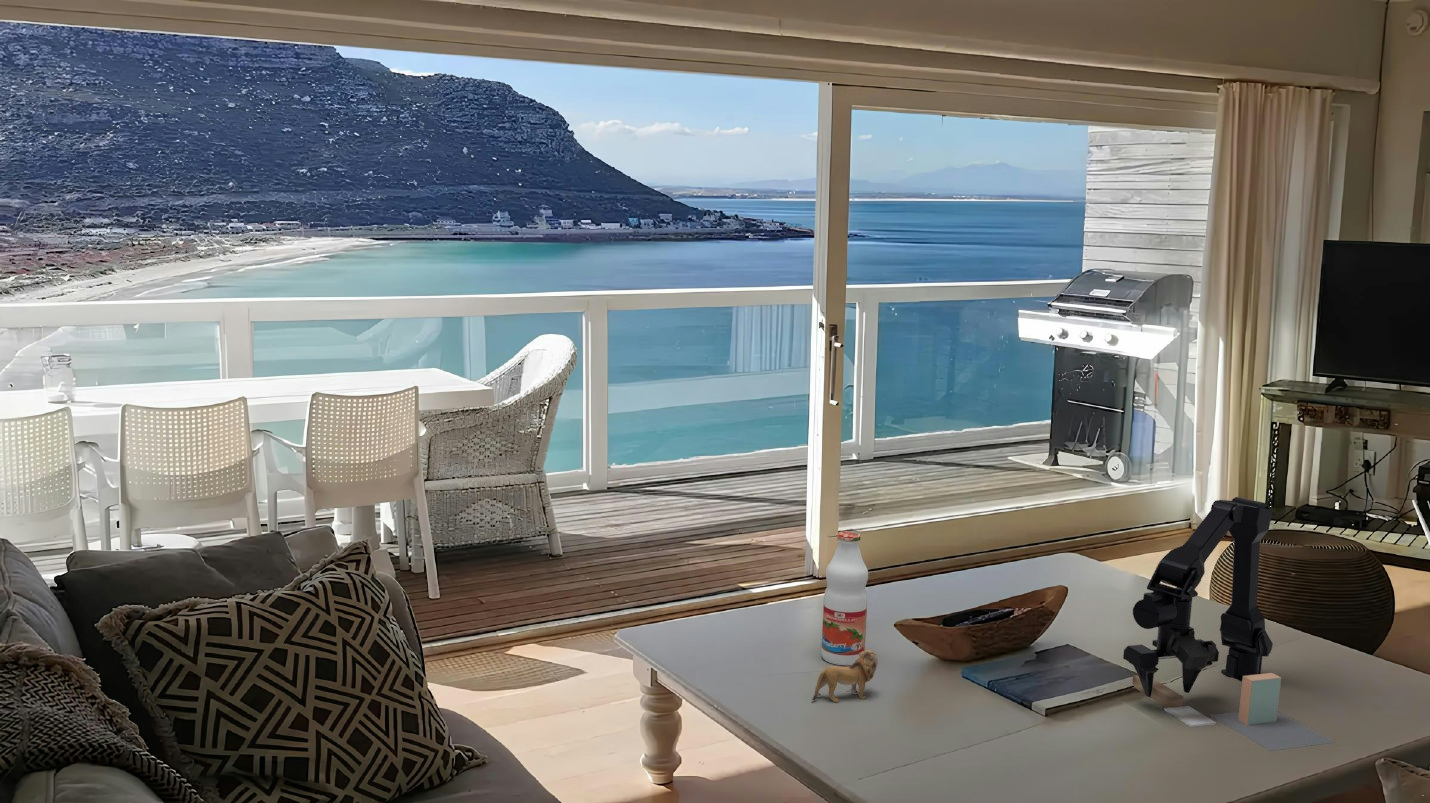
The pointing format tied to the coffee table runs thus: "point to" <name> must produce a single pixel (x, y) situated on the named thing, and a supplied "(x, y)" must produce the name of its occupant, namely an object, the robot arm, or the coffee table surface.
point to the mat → (1275, 732)
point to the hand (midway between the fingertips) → (1167, 694)
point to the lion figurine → (849, 675)
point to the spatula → (1174, 704)
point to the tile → (1259, 698)
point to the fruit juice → (845, 603)
